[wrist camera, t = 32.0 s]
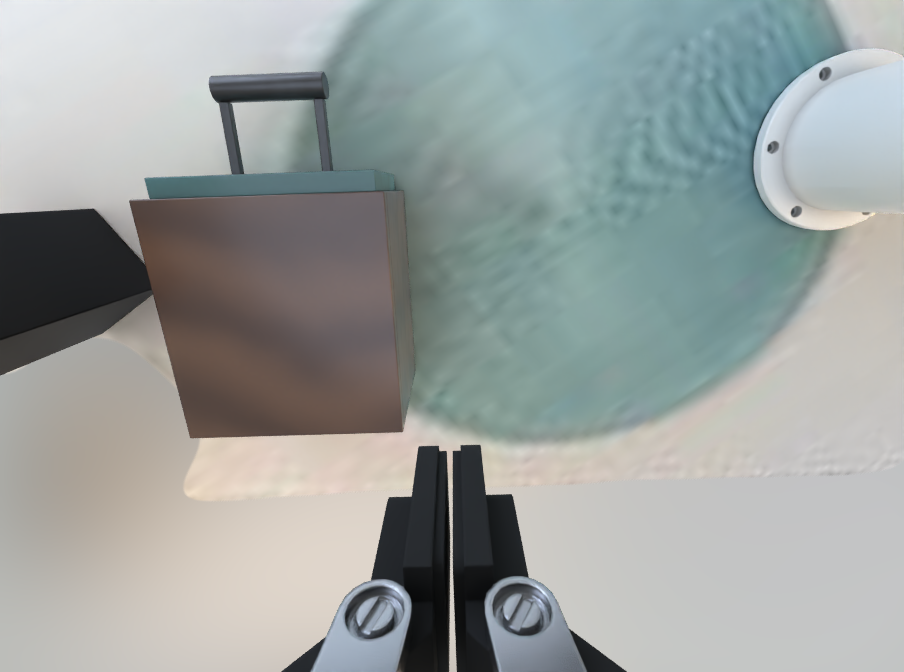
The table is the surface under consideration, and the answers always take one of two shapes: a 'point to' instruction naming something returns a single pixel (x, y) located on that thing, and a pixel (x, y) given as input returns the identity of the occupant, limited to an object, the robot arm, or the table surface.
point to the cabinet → (284, 310)
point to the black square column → (62, 282)
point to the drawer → (270, 183)
